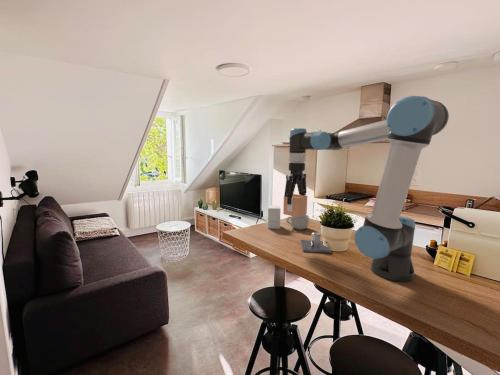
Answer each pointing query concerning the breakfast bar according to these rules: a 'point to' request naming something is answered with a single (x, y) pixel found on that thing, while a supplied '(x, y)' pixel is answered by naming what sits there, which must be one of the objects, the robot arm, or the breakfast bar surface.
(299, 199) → the pink square pen holder
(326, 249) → the board
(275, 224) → the supplement box
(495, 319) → the breakfast bar surface
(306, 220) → the teacup
